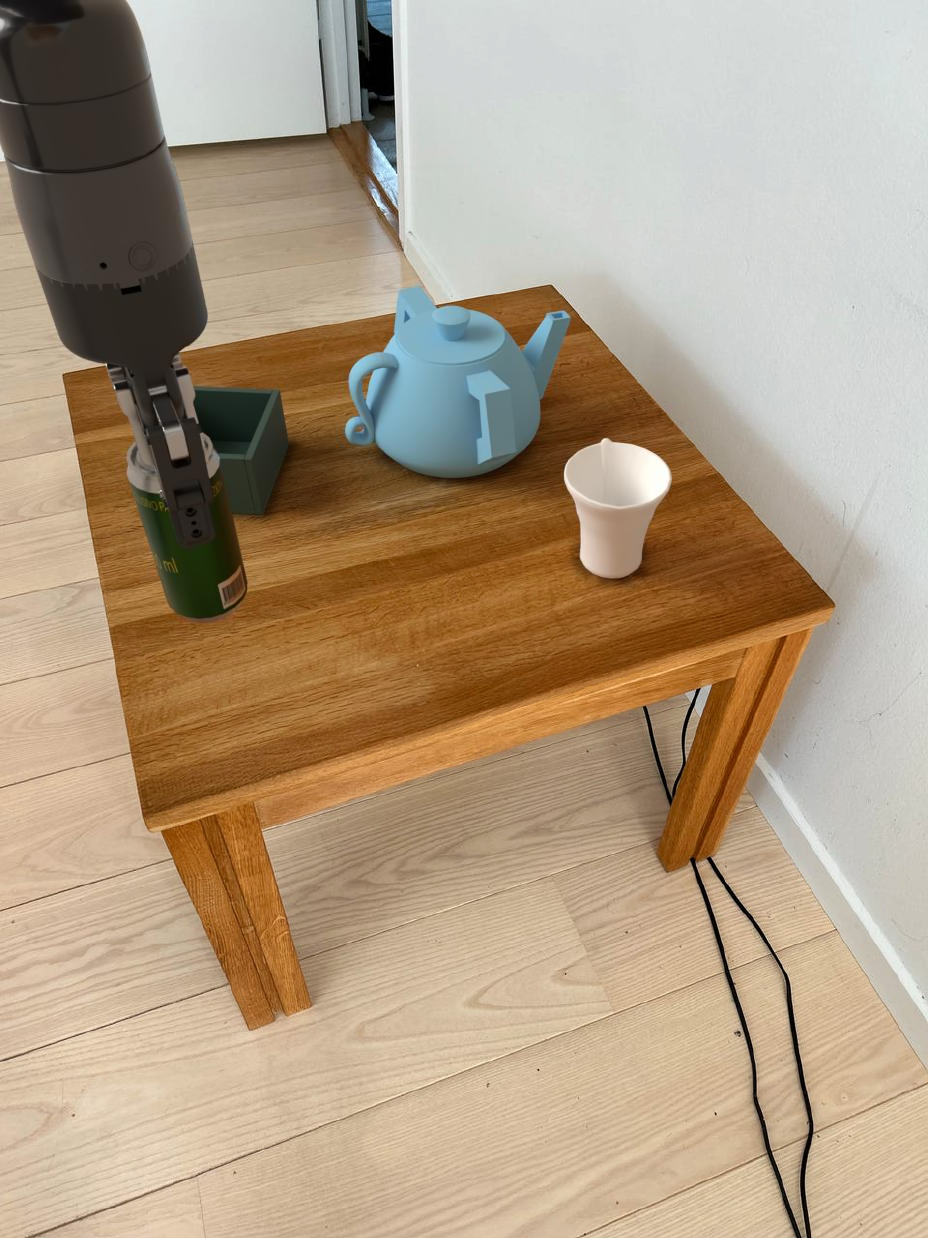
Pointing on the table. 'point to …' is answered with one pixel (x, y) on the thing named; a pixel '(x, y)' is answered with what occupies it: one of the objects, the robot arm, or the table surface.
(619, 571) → the cup
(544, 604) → the table surface
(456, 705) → the table surface
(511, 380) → the teapot
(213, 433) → the open box
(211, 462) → the beer can
